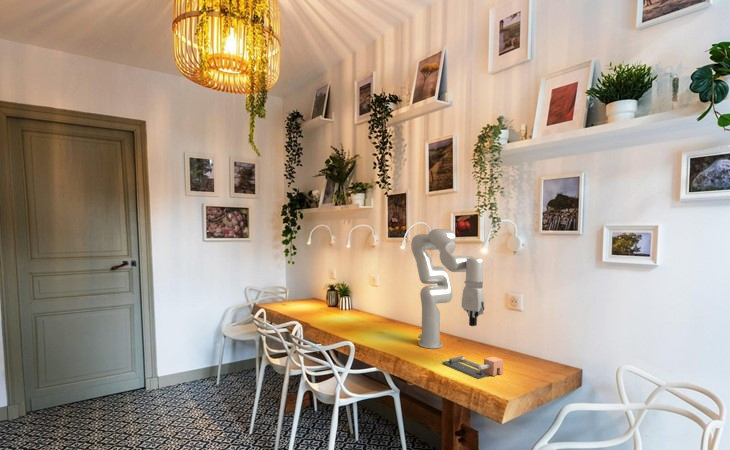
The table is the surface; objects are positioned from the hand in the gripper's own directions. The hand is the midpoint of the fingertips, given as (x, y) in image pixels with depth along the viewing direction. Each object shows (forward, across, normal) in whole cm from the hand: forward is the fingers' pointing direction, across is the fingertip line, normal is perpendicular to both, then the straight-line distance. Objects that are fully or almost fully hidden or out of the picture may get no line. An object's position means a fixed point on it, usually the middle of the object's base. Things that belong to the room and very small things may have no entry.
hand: (472, 325), depth 171 cm
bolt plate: (+18, +3, -8) cm, 19 cm away
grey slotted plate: (+18, +3, -4) cm, 18 cm away
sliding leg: (+17, +12, -3) cm, 21 cm away
